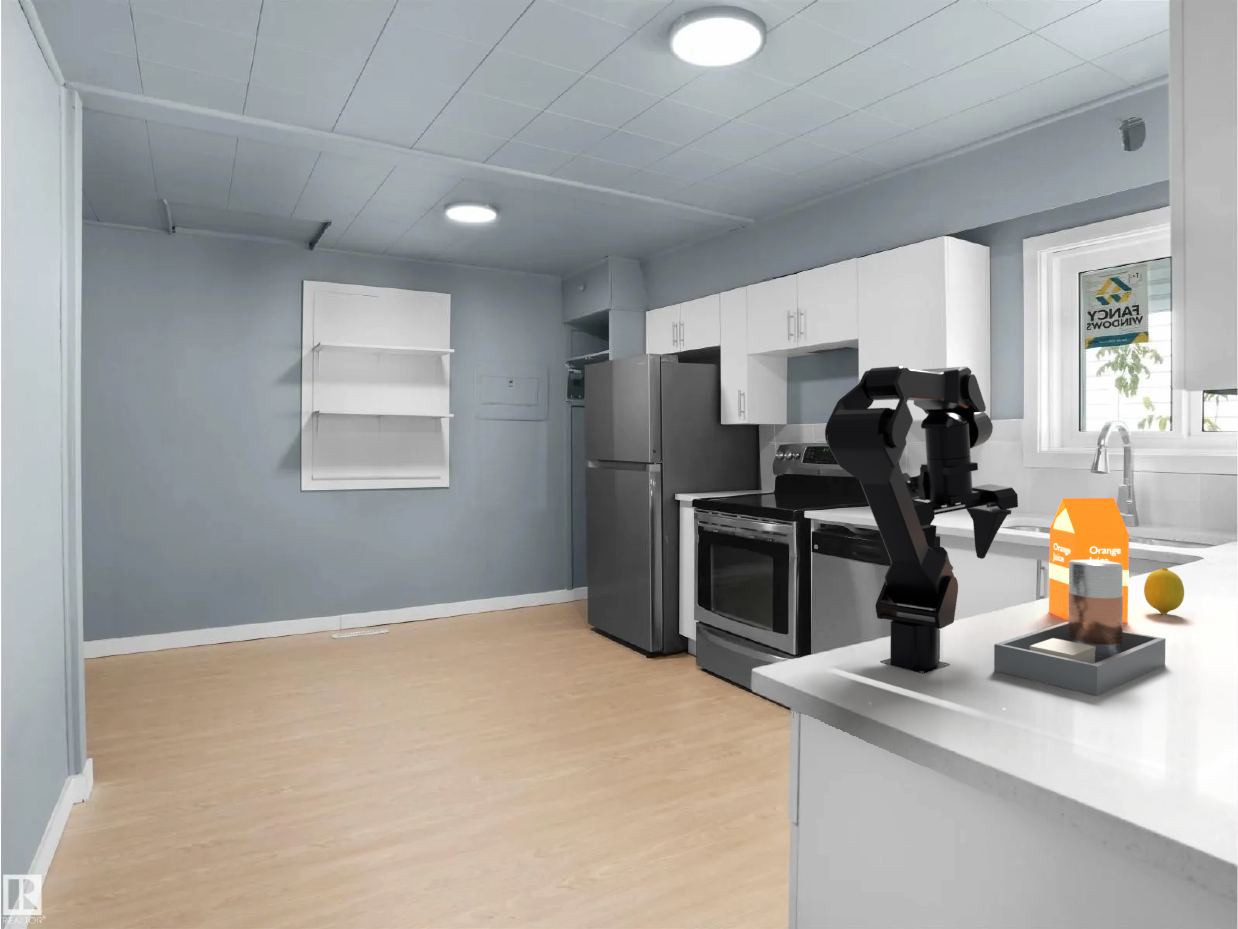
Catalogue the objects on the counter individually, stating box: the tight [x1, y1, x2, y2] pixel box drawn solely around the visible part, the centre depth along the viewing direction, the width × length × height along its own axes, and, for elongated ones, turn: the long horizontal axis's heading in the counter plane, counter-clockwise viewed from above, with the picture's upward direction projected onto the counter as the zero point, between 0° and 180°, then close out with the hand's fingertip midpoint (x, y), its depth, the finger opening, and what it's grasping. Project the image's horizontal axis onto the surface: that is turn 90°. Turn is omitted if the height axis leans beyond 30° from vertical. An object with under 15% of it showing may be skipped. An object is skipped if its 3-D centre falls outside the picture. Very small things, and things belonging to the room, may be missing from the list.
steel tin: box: [1067, 560, 1124, 663], centre depth 101 cm, size 6×6×13 cm
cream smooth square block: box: [1030, 638, 1096, 664], centre depth 96 cm, size 6×5×4 cm
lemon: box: [1143, 567, 1185, 615], centre depth 130 cm, size 6×6×8 cm
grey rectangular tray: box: [993, 620, 1167, 697], centre depth 98 cm, size 20×12×4 cm, turn 126°
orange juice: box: [1048, 497, 1130, 623], centre depth 128 cm, size 8×9×20 cm
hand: (954, 563), depth 110 cm, fingers open, 9 cm apart
